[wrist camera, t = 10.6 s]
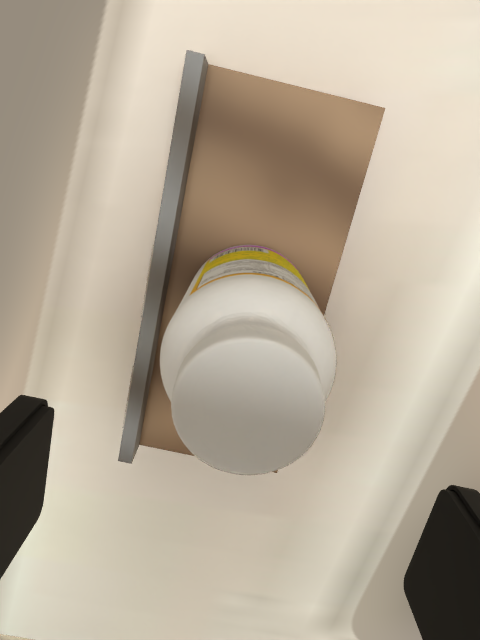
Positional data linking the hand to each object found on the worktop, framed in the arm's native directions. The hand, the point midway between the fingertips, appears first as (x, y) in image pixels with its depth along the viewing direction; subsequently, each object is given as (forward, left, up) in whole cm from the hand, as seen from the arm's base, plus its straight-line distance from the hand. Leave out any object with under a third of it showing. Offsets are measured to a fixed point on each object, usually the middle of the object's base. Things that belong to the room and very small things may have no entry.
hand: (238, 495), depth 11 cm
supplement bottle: (0, 0, -16) cm, 16 cm away
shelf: (+1, +1, -18) cm, 18 cm away
